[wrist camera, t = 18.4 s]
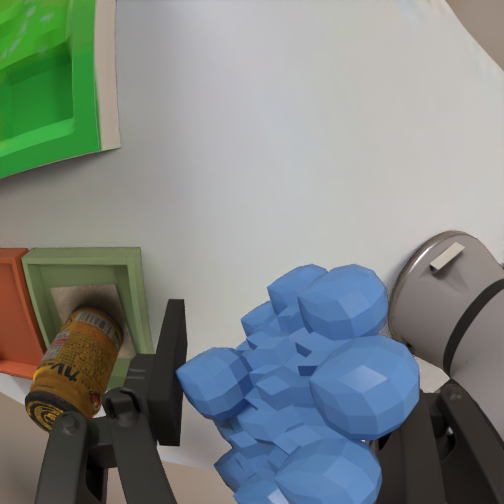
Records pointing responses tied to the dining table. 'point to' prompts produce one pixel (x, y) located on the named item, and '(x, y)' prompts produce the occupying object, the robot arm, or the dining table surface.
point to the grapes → (307, 390)
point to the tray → (56, 81)
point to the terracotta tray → (18, 319)
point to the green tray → (90, 273)
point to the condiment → (79, 354)
